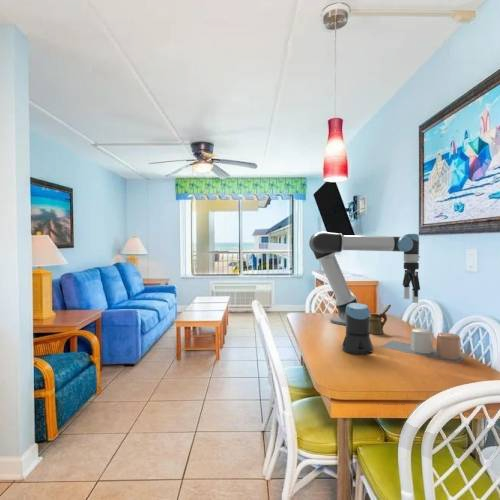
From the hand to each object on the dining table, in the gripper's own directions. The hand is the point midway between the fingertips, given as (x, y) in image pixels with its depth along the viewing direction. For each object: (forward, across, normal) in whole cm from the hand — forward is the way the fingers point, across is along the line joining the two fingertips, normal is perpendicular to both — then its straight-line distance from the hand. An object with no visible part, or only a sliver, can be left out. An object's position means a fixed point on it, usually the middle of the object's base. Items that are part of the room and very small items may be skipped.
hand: (410, 300), depth 188 cm
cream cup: (+22, -18, 0) cm, 28 cm away
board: (+24, -18, 0) cm, 29 cm away
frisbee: (+24, +49, +24) cm, 60 cm away
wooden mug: (+24, +22, +11) cm, 34 cm away
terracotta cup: (+22, -25, -9) cm, 34 cm away
